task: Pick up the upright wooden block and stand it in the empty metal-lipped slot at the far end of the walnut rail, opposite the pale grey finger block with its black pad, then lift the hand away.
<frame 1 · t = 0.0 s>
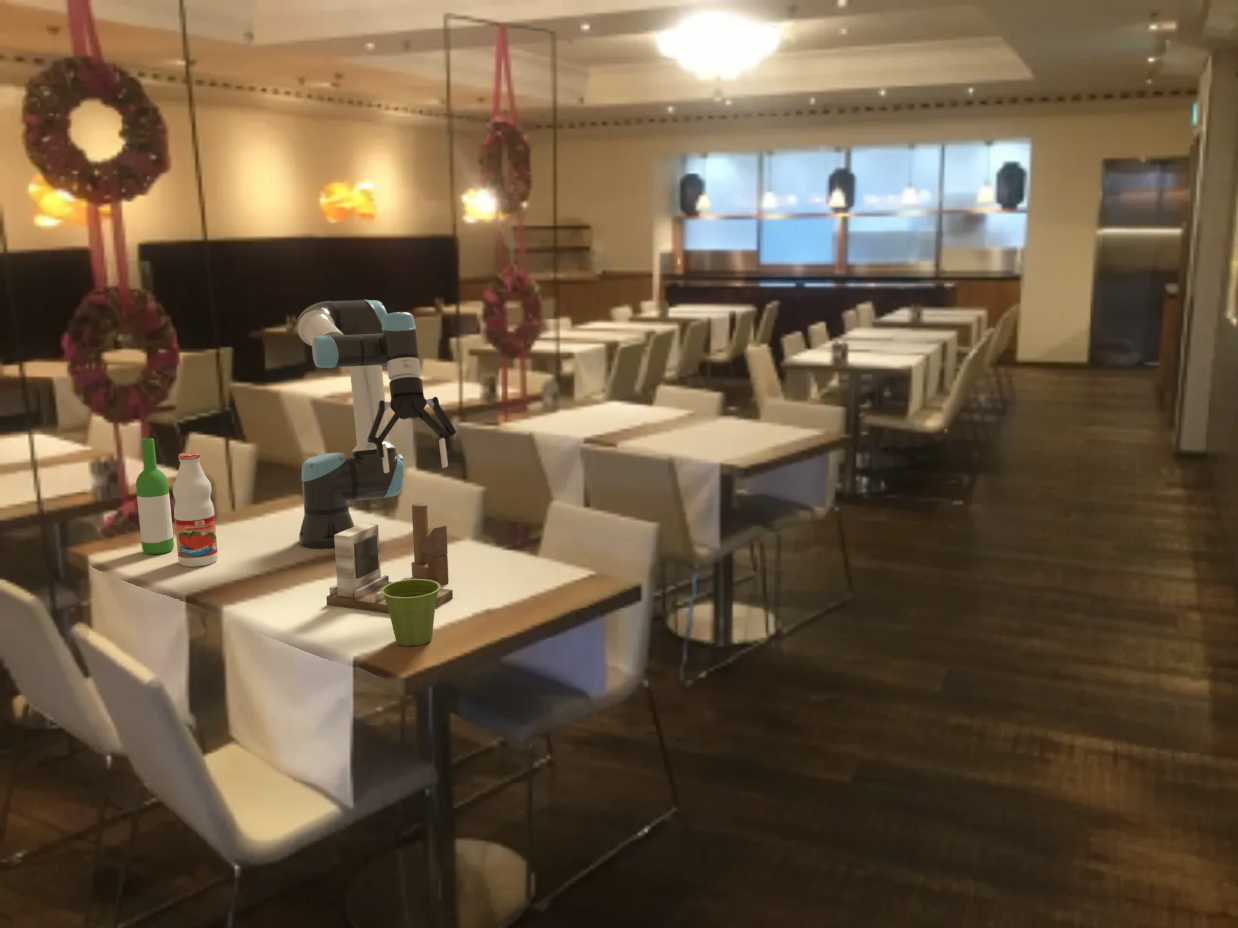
hand: (416, 469, 250), 28 cm above the table, tool tilted 20°, fingers open, 13 cm apart
wine bottle: (158, 551, 285), on the table
plant pot: (413, 641, 221), on the table
finger rail: (390, 601, 244), on the table
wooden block: (430, 580, 260), on the table
fruit juice: (198, 562, 276), on the table
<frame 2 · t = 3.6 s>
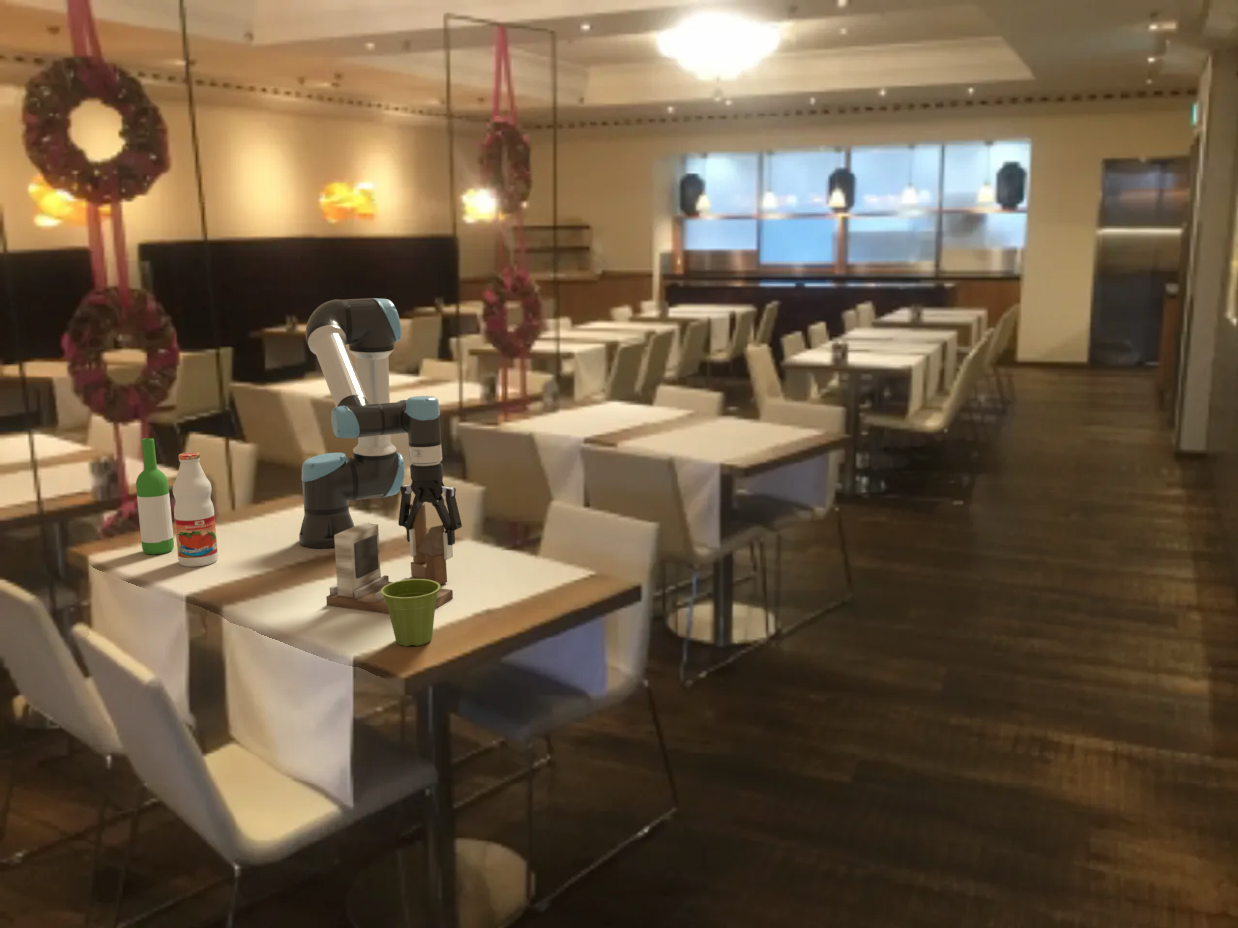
hand: (431, 556, 258), 6 cm above the table, tool pointing down, fingers open, 8 cm apart
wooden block: (429, 580, 260), on the table, touching gripper, hand
everything else where it was.
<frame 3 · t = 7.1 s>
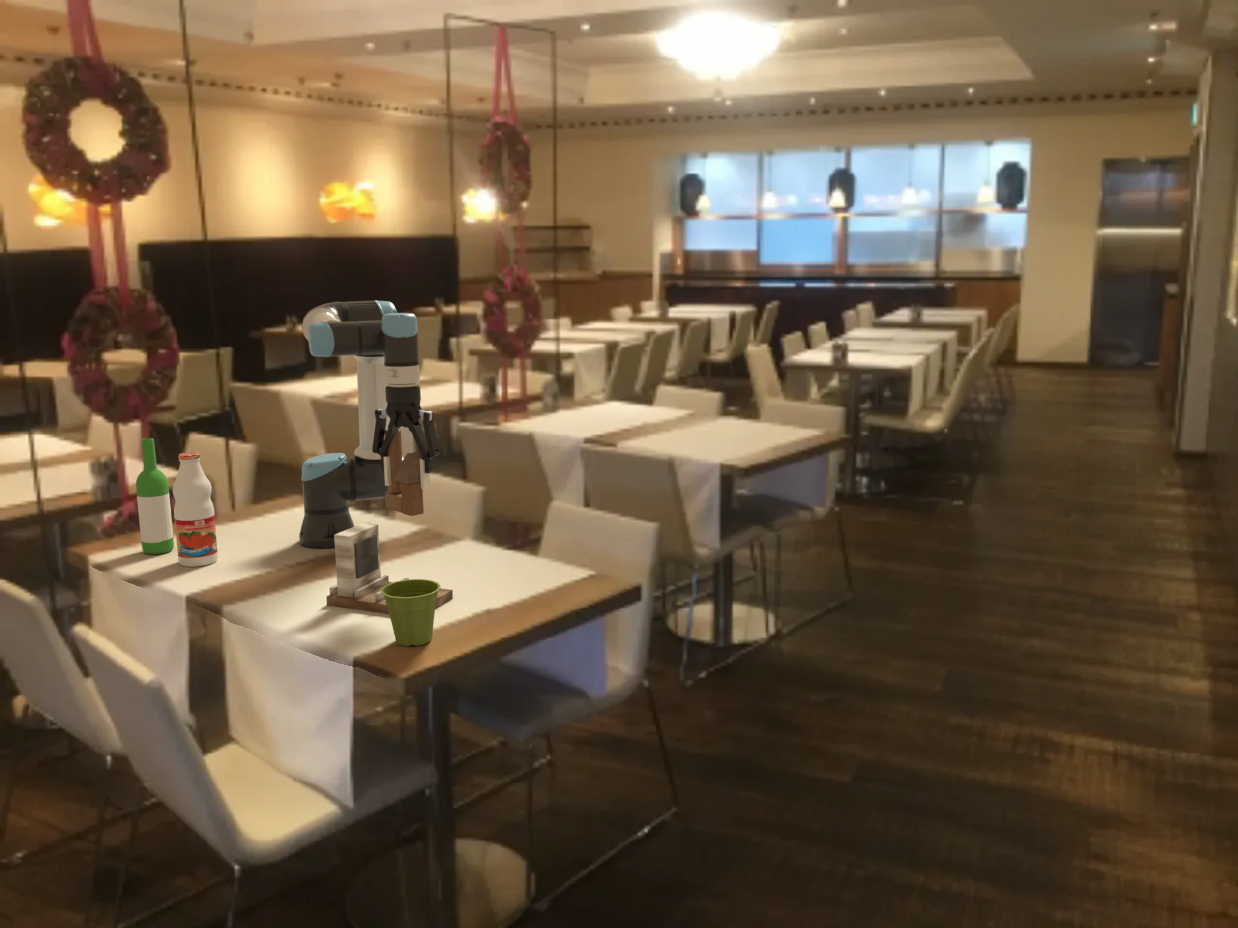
hand: (407, 485, 242), 26 cm above the table, tool pointing down
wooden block: (404, 511, 244), point 20 cm above the table, touching gripper, hand
everything else where it was.
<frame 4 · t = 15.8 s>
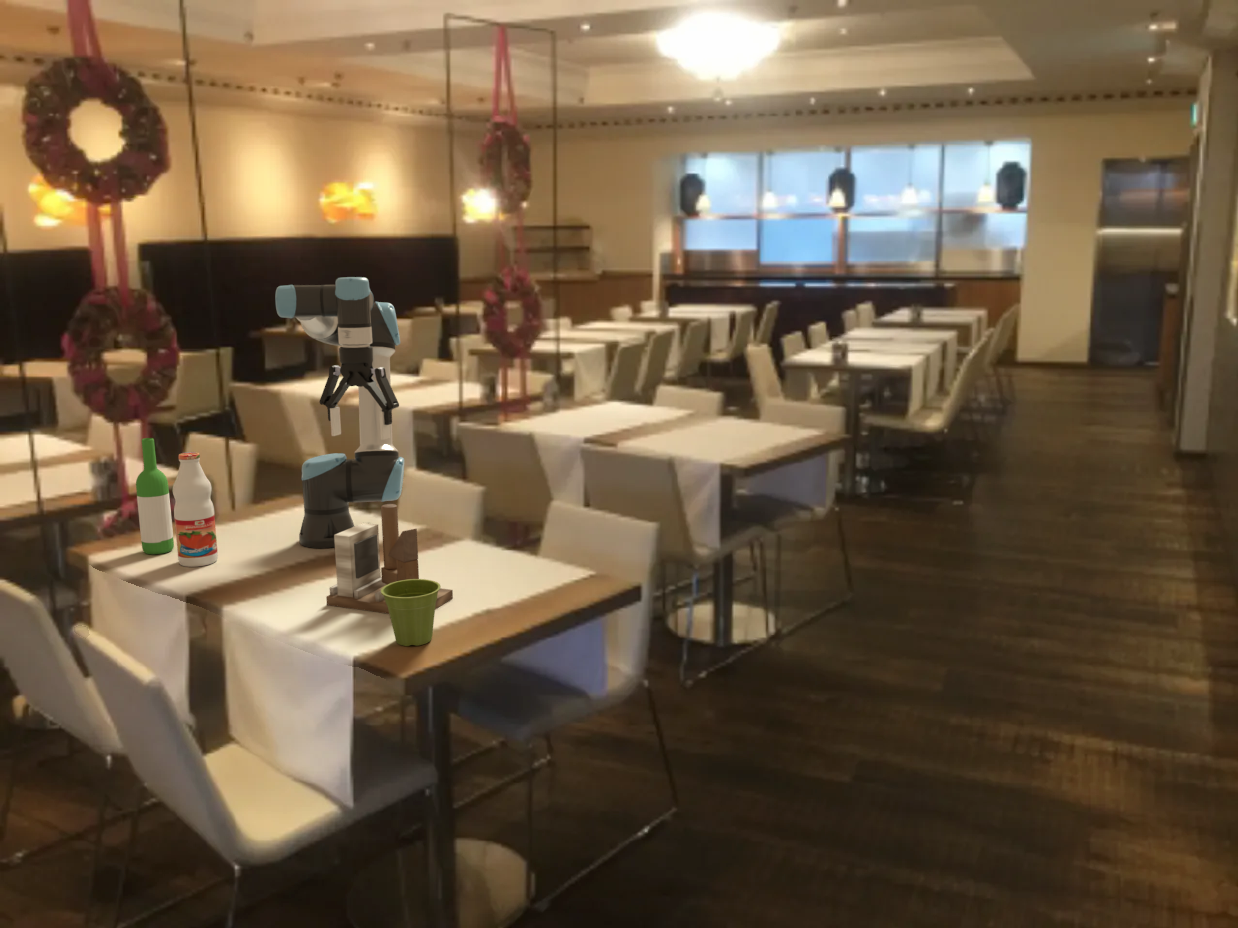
hand: (360, 437, 253), 35 cm above the table, tool pointing down, fingers open, 13 cm apart
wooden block: (400, 587, 243), point 4 cm above the table, touching finger rail
everything else where it was.
at the end: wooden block 1.2 cm from the target spot on the finger rail, point 3.6 cm above the finger rail's base; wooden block tilted 0°; the gripper is holding nothing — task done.
